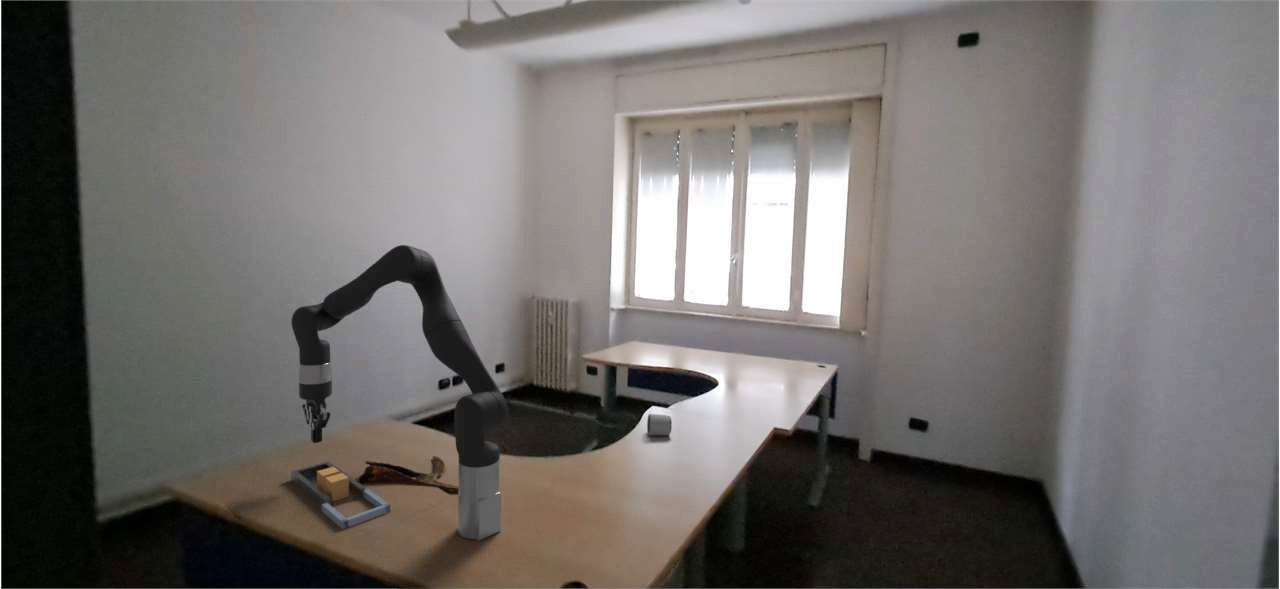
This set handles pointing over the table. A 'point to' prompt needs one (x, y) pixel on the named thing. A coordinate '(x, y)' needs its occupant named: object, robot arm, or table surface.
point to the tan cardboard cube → (323, 474)
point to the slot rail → (308, 484)
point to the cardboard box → (337, 486)
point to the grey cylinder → (659, 425)
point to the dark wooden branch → (406, 475)
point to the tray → (343, 522)
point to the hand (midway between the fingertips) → (316, 441)
